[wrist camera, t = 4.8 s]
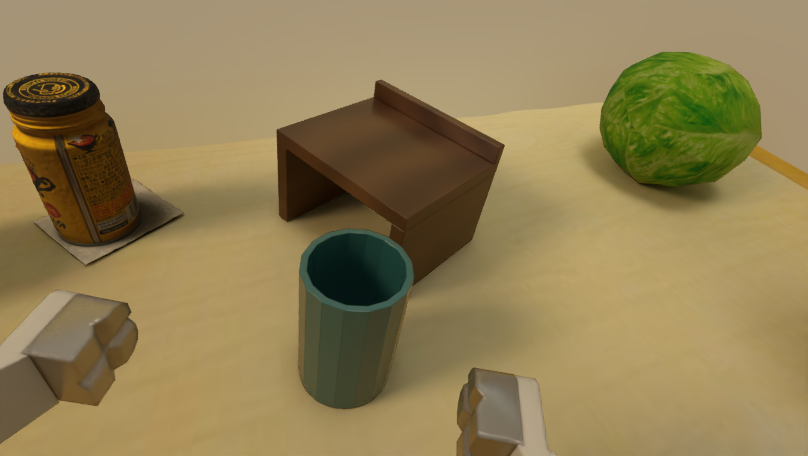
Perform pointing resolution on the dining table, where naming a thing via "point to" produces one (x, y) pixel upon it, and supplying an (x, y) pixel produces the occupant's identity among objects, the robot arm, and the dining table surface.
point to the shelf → (392, 170)
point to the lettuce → (680, 119)
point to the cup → (350, 314)
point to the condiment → (79, 166)
